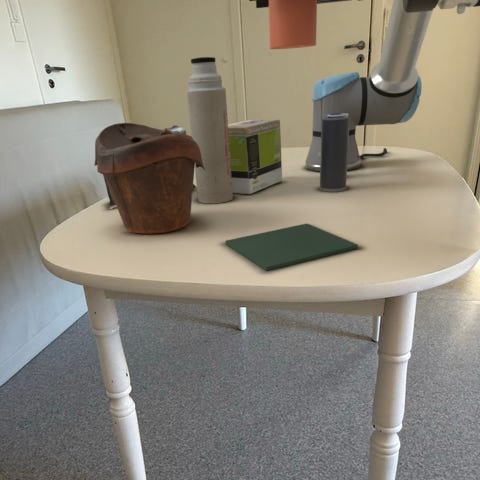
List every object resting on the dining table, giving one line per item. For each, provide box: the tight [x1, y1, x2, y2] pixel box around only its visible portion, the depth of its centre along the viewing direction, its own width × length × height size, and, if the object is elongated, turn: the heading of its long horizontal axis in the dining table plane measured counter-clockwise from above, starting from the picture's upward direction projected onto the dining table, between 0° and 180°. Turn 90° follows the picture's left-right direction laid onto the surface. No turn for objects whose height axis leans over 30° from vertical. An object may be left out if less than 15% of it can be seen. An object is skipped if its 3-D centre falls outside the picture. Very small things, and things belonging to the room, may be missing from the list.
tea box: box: [228, 119, 283, 195], centre depth 107 cm, size 15×10×15 cm, turn 145°
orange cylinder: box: [268, 0, 318, 50], centre depth 58 cm, size 6×6×10 cm
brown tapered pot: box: [93, 122, 206, 235], centre depth 82 cm, size 18×20×18 cm
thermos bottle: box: [186, 56, 234, 204], centre depth 95 cm, size 8×8×28 cm
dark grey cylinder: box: [318, 117, 350, 193], centre depth 100 cm, size 6×6×15 cm
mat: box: [225, 223, 359, 272], centre depth 71 cm, size 16×14×1 cm
